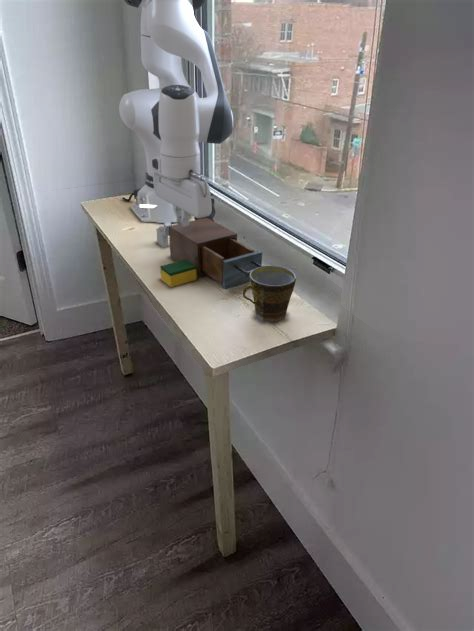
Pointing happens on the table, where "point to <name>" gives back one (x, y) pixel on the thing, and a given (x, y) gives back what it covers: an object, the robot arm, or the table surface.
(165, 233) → the lighter
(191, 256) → the cabinet
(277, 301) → the ceramic cup
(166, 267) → the sponge
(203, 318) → the table surface
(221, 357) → the table surface
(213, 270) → the drawer
